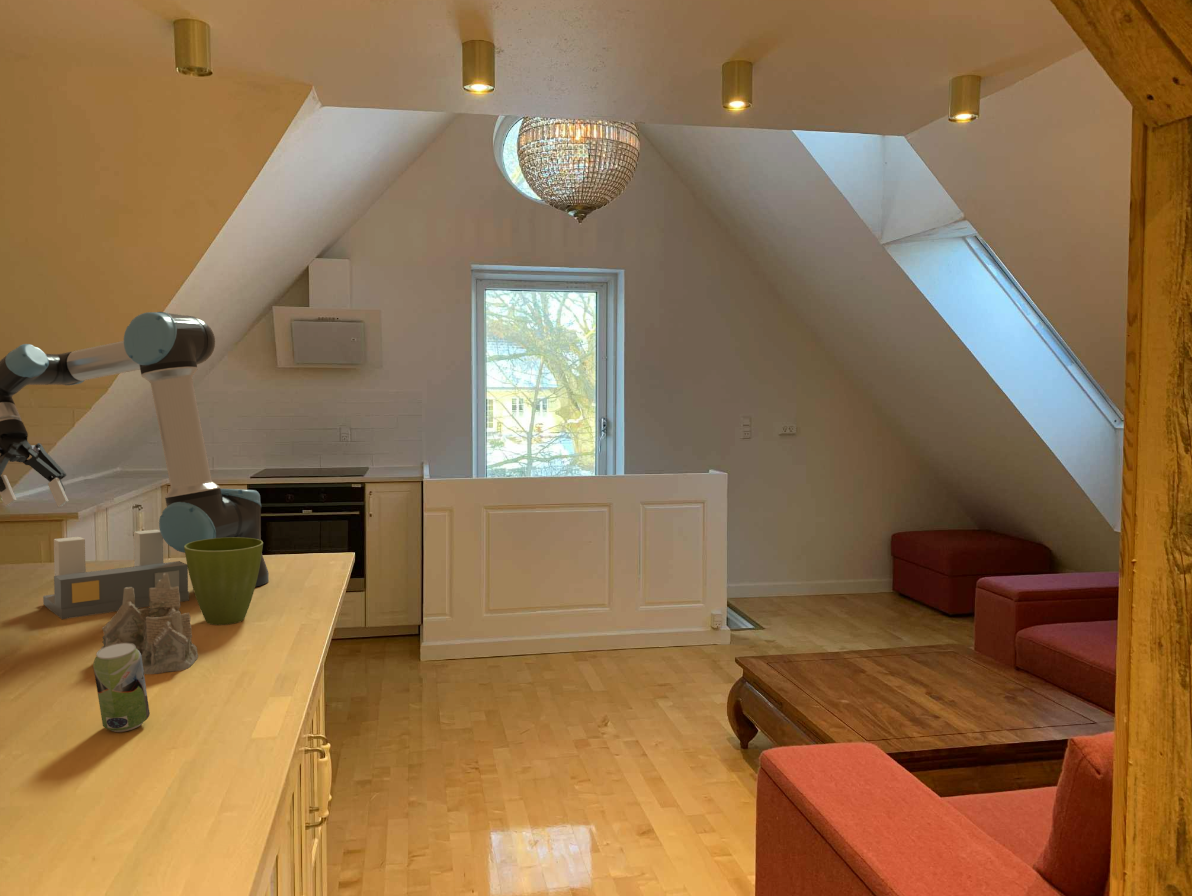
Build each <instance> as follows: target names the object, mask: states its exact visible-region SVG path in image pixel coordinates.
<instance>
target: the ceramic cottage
mask: <svg viewBox="0 0 1192 896" xmlns="http://www.w3.org/2000/svg"><path fill="white" fill-rule="evenodd" d="M149 605H150V606H149V607H144V608H136V607H135V594H134V588H132V587H126V588H124V593H123V604H122V606H121V607H120V608H119V610H118V611H116V613H115V614H114V615H113V616H112V617H111V619H110V621H108V622H107V623H106V624H105V626H103V627H102V628H101V629H102V631H103V632H102V633H103V636H102V643H103V645H102V646H101V648H100V649H102V648H104V647H106V646H109V645H112V644H117V643H132V644H134V645H135V647H136V649H137V650H139V652H140V653H141V657H142V664H143V671H144V675H156V674H158V675H159V674H162V673H163V674H164V673H166V672H167V673H168V672H171V673H172V672H180V671H181V672H182V671H183V670H188V669H189V668H191V667H192V666H193V664H194V663H195V661H197V660H198V658H199V654H198V647H197V646H196V645H195V643H193V642H192V639H193V635H192V624H191V615H190V612H184V613H182V614H181V611H180V610H179V609H180V608H181V602H180V594H179V587H178V586H177V587H171V585H170V580H169V574H166V573H164V574H163V575H162V579H161V580H159V581H158V584H157V586H156V588H149Z"/></svg>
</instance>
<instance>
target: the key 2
mask: <svg viewBox="0 0 1192 896" xmlns="http://www.w3.org/2000/svg"><path fill="white" fill-rule="evenodd" d="M133 554H134V556H133V561H134V563H133V565H134V566H142V565H151V564H159V563H164V539H163V537H162V535H161V532H160V529H149V530H148V529H147V530H139V531H138V530H135V531H133ZM134 566H133V567H134Z"/></svg>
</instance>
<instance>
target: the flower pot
mask: <svg viewBox="0 0 1192 896" xmlns="http://www.w3.org/2000/svg"><path fill="white" fill-rule="evenodd" d="M263 546H264V542H263V540H262V539H261V540H259V539H254V538H241V537H228V538H213V539H204V540H198V541H194V542H190V543H188V544H186V545H185V546H184V549H185V553H184V555H185V560H186V564H187V567H188V576H189V579H190V582H191V586H192V588H193V592H194V596H195V598H196V601H197V605H198V607H199V608H200V612H201V614H202V616H203V619H204V620H205V622H206V623H207V624H209V625H217V626H223V625H224V626H225V625H232V624H237V623H240V622H242V621H244V620H245V618H246V616H247V614H248V610H249V607H250V604H251V603H252V602H251V601H252V598H253V595H254V591H255V588H256V587H255V585H256V581H257V577H258V573H259V568H260V562H261V555H263V553H262V552H263Z"/></svg>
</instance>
